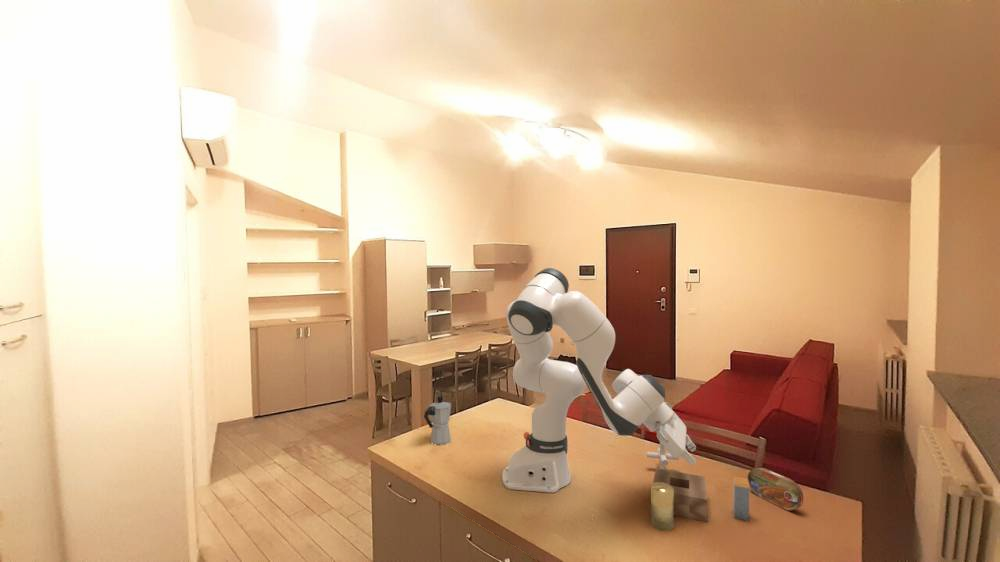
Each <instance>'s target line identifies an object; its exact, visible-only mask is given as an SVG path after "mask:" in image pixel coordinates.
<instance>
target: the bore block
mask: <svg viewBox="0 0 1000 562" xmlns="http://www.w3.org/2000/svg"><path fill="white" fill-rule="evenodd" d="M706 478H707V476H704V475H697V474H691V473H687V472H682V471H681V472H680V471H674V470H671V469H670V470H668V469H665V470H664V469H660V468H657V467H656V468H655V471H654V477H653V481H652V482H653V483H655V482H663V483H667V484H669V485H671V486H672V487H673V488H674V516H677V517H683V518H686V519H692V520H696V521H701V522H705V521H707V522H708V493H707V480H706ZM653 483H652V484H653Z"/></svg>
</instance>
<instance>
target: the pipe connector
mask: <svg viewBox="0 0 1000 562" xmlns="http://www.w3.org/2000/svg"><path fill="white" fill-rule="evenodd" d="M646 458H648V459H659V469H664V470H666V466H668V465H669V461H668V460H674V461H675V460H676V461H678V460H680V457H678V458H674V457H673V456H672V455H671V454H670V453H669V452H668V453H667V452H666V448H665V447H664V446H663V445H662V444H661V442H660V441H659V447H658V448H657V452H654V451H653V452H651V451H646Z"/></svg>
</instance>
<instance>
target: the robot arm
mask: <svg viewBox="0 0 1000 562" xmlns="http://www.w3.org/2000/svg"><path fill="white" fill-rule="evenodd" d="M569 287H570V285H569V280H568V279H567V276H566V275H564V273H563V272H561V271H560V270H557V269H556V268H552V267H546V268H543V269H542V270H540V271H538V273H536V274H535V275H534V277H533V278H532V279H531V280H530V281H528V283H527V284H526V285H525V287H523V288H522V291H521V292H520V293H519V294H518V297H517V298H516V300H513V301H512V302H510V303H509V304H508V306H507V308H506V310H505V318H506V322H507V327H508V330H509V333H510V335H511V338H512V340H513V342H514V344H515V347H516V349H517V352H518V355H519V359H518V360H517V361H516V362H515V364H514V366H513V369H512V376H513V377H512V379H513V381H514V383H515V384H516V385H517V386H519V387H521V388H524V389H526V390H528V391H531V392H537V393H540V394H541V393H542V394H545V402H542V403H540V404H538V405H537V406H535V408H533V410H532V413H531V433H530V432H528V431H526V432H525V431H524V433H523V439H524V440H525V445H524V446H522V447H521V448H520V449H519V450H517V451H515V452H514V453H512V455H511V457H510V461H509V465H508V466H505V468H503V470H502V475H501V480H502V484H503V486H505V488H506V489H508V490H518V491H519V490H520V491H529V492H540V493H557V492H558V491H559V490H560V489H561V488H564V487H566V486H568V485H569V484H570V483H571V482H572V477H571V473H570V469H569V463H568V455H567V454H568V449H569V448H568V446H569V445H568V444H569V442H568V436H567V416H568V415H567V414H568V410H569V408H570V406H571V404H572V403H573V401H574V400H575V399H577V398H578V397H580V396H581V395H582V394H583V393H584V392H585V390H586V388H588V390H589V391H590V393H591V395H592V398H593V399H594V401H595V402H596V404H597V406H598V407H599V409H600V411H601V414H602V416H603V419H604V421H605V423H606V424H607V426H608V427H609V428H610V430H612V431H613V433H615V434H617V435H618V436H621V437H622V436H624V437H627V436H629V437H630V436H633V435H634V433H636V431H637V430H638V429H639V428H640V426H641V425H642V424H643V425H644V426H645V427H646V428H647V429H648V430H649V431H650V432H651V433H653V432H656V438H657V439H658V441H659V443H660V442H661V444H662V445H663V446H664V447H665V451H666V450H667V451H666V452H668V453H670V454H671V455H672V456H673V457H674V458H678V457H679V458H680V457H681V458H682V459H684V460H685V461H686V462H688V463H689V464H690V465H691V466H694V465H695V464H696V463H697V459H696V457H695V456H694V455H693V454H691V453H690V452H694V451H695V450H697V445H695V443H694V442H693V441H692V439H691V437H690V436H689V435H688V434H687V426H686V424H685V423H684V422H683V421H682V419H681V418H680V417H679V416H678V415H677V413H676V412H675V411H674V410H673V407H672V406H671V404H670V403H669V402H666V401H665V400H666V388H664V387H663V386H662V384H660V382H659V381H658V380H657V379H656V378H655V377H654V376H653V375H652V374H640V375H638V374H637V373H635V372H634V371H633V370H632V369H630V368H626V369H624V370H622V371H621V372H620V373H618V374H617V375H616V376H615V378H614V379H613V380H612V382H611V387H612V388H613V390H614V391H615V393H616V394H617V395H616V396H615V397H612V395H611V394H610V391H608V388H607V387H606V385H605V383H604V381H603V372H604V369H605V366H606V364H607V361H608V360H609V358H610V356H611V354H612V352H613V350H614V347H615V344H616V332H615V328H614V327H613V325H612V324H611V322H610V320H609V319H608V318H607V316H606V315H605V314H604V313H603V312H602V310H601V309H600V308H599V307H598V306H597V305H596V304H595V303H594V302H593V301H592V300H591V299H590V298H589V297H587V296H586V295H585V294H583V293H582V292H580V291H578V290H571V291H569V289H570V288H569ZM553 326H558V327H560V328H561V329H562V330H563V331H564V332H565V333H566V335H567V336H568V338H570V340H571V341H572V342H573V344H574V346H575V348H576V352H577V357H576V364H575V363H572V362H569V361H564V360H563V361H562V360H557V359H550V358H549V357H550V356H551V354H552V352H553V351H554V350H553V349H554V341H553V338H552V337H551V334H550V332H551V331H552V329H553ZM686 447H687V448H686ZM687 449H688V450H689V451H690V452H688V450H687Z"/></svg>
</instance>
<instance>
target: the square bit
mask: <svg viewBox="0 0 1000 562" xmlns="http://www.w3.org/2000/svg"><path fill="white" fill-rule="evenodd" d="M732 506H733V511H732V512H733V516H734V517H733V519H736V518H737V520H741V521H747V522H750V486H749V481H748V478H744V477H741V476H740V477H739V476H733V505H732Z"/></svg>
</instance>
